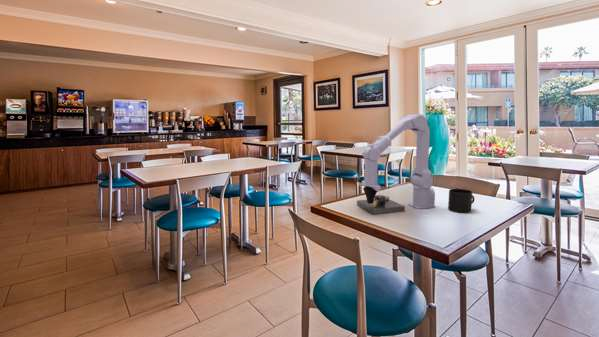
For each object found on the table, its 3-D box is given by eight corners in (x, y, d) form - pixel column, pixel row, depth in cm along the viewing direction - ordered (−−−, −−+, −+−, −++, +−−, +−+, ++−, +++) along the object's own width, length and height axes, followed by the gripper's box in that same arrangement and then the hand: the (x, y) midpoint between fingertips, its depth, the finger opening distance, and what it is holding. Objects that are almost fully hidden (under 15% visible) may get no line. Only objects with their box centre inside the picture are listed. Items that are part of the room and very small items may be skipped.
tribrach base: (386, 202, 161) (386, 194, 160) (404, 211, 145) (404, 202, 145) (356, 205, 156) (357, 196, 156) (372, 214, 141) (372, 205, 140)
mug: (481, 212, 143) (482, 192, 141) (457, 213, 141) (458, 193, 139) (466, 206, 152) (467, 187, 151) (443, 208, 150) (444, 189, 148)
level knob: (376, 200, 154) (376, 194, 153) (386, 202, 151) (387, 195, 151) (369, 205, 145) (369, 199, 145) (379, 207, 143) (380, 200, 142)
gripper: (355, 171, 150) (355, 200, 153) (370, 177, 137) (369, 207, 139) (369, 171, 152) (368, 198, 154) (385, 176, 138) (384, 206, 141)
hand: (370, 203), depth 147 cm, fingers closed
